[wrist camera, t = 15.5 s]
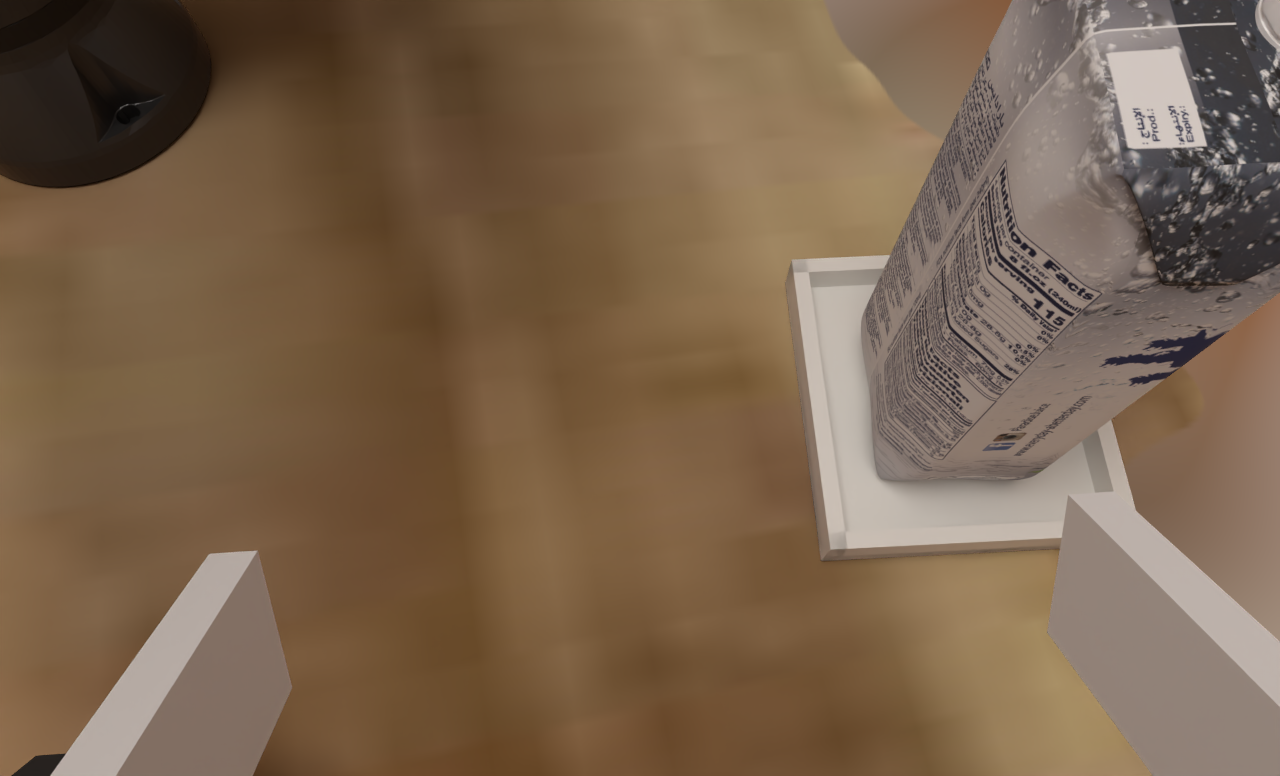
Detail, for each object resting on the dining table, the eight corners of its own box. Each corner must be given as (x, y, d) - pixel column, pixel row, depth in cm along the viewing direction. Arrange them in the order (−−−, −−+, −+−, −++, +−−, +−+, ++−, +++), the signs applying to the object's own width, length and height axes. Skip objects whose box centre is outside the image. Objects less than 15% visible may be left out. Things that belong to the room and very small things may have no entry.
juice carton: (860, 502, 44) (1133, 163, 19) (841, 313, 48) (1046, -168, 23) (1041, 501, 44) (1547, 160, 19) (1006, 312, 48) (1387, -171, 23)
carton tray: (785, 283, 50) (791, 259, 48) (1044, 270, 50) (1064, 246, 48) (821, 561, 44) (830, 549, 42) (1116, 545, 44) (1142, 533, 42)
